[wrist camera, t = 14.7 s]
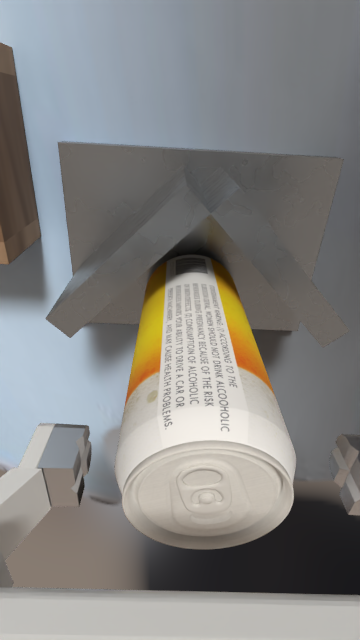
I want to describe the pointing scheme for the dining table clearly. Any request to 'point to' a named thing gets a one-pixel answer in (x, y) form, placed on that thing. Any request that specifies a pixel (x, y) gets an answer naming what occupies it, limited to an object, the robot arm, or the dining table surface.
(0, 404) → the dining table surface
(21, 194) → the walnut sleeve
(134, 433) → the beer can
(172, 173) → the V-block
